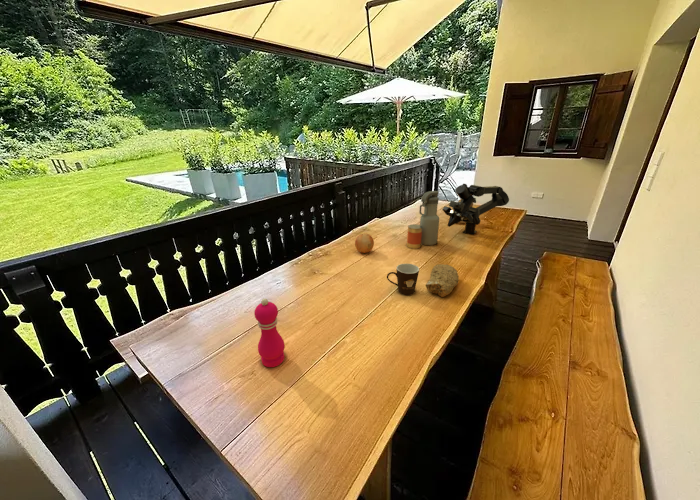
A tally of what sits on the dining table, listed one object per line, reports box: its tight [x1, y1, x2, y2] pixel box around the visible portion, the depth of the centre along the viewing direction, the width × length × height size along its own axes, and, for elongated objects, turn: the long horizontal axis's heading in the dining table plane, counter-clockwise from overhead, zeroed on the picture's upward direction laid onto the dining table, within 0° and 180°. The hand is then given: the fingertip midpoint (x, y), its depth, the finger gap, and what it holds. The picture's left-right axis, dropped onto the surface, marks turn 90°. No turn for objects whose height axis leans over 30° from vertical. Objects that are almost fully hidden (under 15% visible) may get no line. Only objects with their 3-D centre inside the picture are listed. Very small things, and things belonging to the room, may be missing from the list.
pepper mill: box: [253, 297, 286, 368], centre depth 81 cm, size 7×7×20 cm
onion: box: [354, 232, 375, 254], centre depth 152 cm, size 10×10×10 cm
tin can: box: [406, 223, 422, 250], centre depth 159 cm, size 7×7×11 cm
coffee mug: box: [386, 263, 420, 296], centre depth 117 cm, size 12×9×10 cm
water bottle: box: [418, 190, 440, 246], centre depth 159 cm, size 10×10×28 cm
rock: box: [425, 263, 460, 298], centre depth 121 cm, size 13×8×20 cm
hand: (448, 226), depth 168 cm, fingers closed
